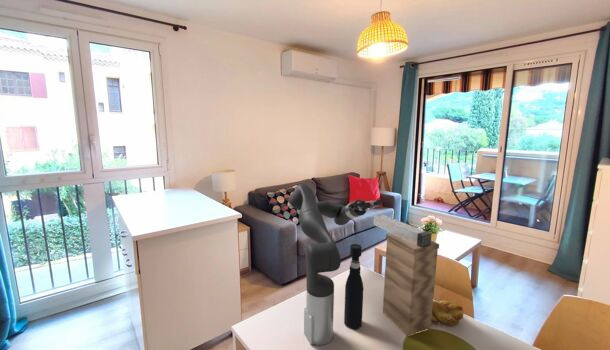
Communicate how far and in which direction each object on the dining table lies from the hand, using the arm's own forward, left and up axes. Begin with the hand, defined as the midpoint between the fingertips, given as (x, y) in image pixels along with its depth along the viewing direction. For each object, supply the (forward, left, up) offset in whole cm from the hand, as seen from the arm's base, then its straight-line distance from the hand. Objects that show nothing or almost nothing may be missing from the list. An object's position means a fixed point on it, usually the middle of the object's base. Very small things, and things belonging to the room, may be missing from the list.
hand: (373, 201), depth 122 cm
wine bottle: (-20, -19, -39) cm, 48 cm away
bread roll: (+12, -30, -39) cm, 51 cm away
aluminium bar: (-2, -20, -7) cm, 21 cm away
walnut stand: (-1, -25, -39) cm, 46 cm away
